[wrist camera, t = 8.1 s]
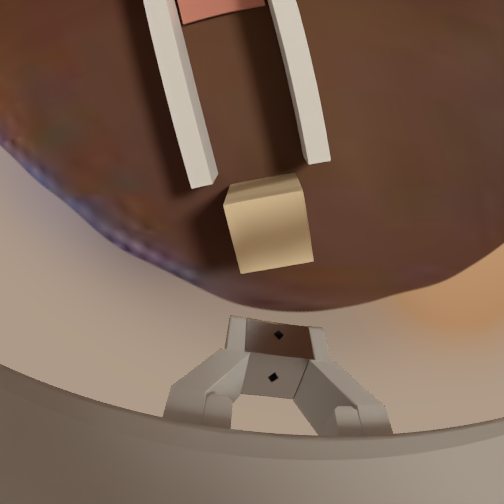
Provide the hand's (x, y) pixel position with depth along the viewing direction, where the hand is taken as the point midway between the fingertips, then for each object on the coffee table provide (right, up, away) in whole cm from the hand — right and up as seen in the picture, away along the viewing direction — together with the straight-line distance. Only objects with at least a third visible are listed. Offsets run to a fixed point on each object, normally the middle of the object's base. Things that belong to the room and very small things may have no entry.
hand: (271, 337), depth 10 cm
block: (+1, +6, +15) cm, 16 cm away
